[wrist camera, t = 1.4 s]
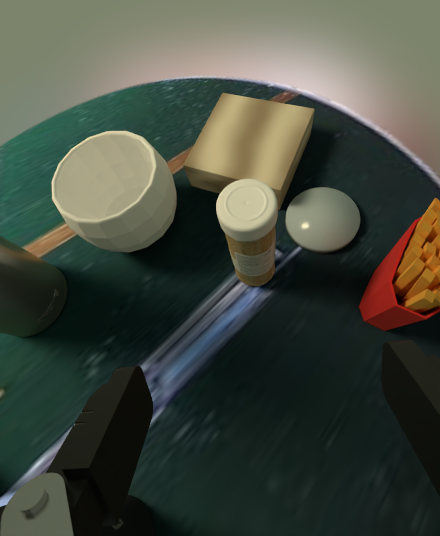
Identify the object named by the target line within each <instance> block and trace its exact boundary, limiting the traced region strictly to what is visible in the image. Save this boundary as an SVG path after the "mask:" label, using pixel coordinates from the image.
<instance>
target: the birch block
mask: <svg viewBox="0 0 440 536" xmlns="http://www.w3.org/2000/svg"><path fill="white" fill-rule="evenodd" d="M313 115H314V109H312V108H306V107H300V106H294V105H289V104H283V103H277V102H272V101H266V100H260V99H254V98H249V97H243V96H237V95H232V94H226V93H222V95H221V97H220V99H219V101H218V102H217V104H216V106H215V108H214V110H213V112H212V113H211V115H210V117H209V119H208V121H207V123H206V124H205V126H204V128H203V130H202V132H201V134H200V135H199V137H198V139H197V141H196V143H195V145H194V146H193V148H192V150H191V152H190V154H189V156H188V157H187V159H186V161H185V163H184V165H183V166H184V169H185V171H186V174H187V176H188V179H189V181H190V184H191V186H194V187H197V188H201V189H205V190H208V191H212V192H215V193H219V194H220V193H221V192H222V191H223V189H224V188H225V187H227V186H228V185H229V184H231V183H233V182H235V181H238V180H241V179H256V180H259V181H262V182H264V183H266V184H267V185H268V186H269V187H271V189H272V190H273V191H274V193H275V195H276V198H277V206H278V210H280V207H281V205H282V203H283V200H284V198H285V195H286V193H287V191H288V188H289V186H290V183H291V181H292V178H293V176H294V174H295V171H296V169H297V166H298V164H299V161H300V159H301V157H302V154H303V152H304V149H305V147H306V144H307V142H308V140H309V137H310V135H311V128H312V122H313Z"/></svg>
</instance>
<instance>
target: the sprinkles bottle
mask: <svg viewBox="0 0 440 536" xmlns="http://www.w3.org/2000/svg"><path fill="white" fill-rule="evenodd" d="M216 212H217V216H218V220H219V223H220V226H221V228H222V229H223V231H224V232H225V235H226V239H227V242H228V246H229V251H230V254H231V258H232V261H233V264H234V266H235V272H236V275H237V277H238V278H239V279H240V280H241V281H242V282H243V283H245V284H247V285H249V286H261V285H263V284H266V283H267V282H268V281H269V280H270V279H271V278H272V276H273V275H274V272H275V262H274V260H275V236H276V235H275V223H276V221H277V214H278V206H277V198H276V195H275V193H274V191H273V190H272V189H271V187H269V186H268V185H267V184H266V183H264V182H262V181H259V180H256V179H241V180H238V181H235V182H233V183H231V184H229V185H228V186H227V187H225V188H224V189H223V191H222V192H221V193H220V195H219V197H218V199H217V203H216Z"/></svg>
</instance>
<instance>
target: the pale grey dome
mask: <svg viewBox="0 0 440 536" xmlns="http://www.w3.org/2000/svg"><path fill="white" fill-rule="evenodd" d="M359 225H360V213H359V210H358V208H357V206H356V204H355V203H354V201H353V200H352V199H351V198H350V197H349V196H347V195H346V194H344V193H343V192H341V191H338V190H335V189H332V188H325V187H320V188H313V189H309V190H306V191H304V192H302V193H300V194H299V195H297V196H296V197H295V198H294V199H293V200H292V201H291V203H290V204H289V207H288V209H287V212H286V229H287V232H288V234H289V236H290V238H291V239H292V240H293V241H294V242H295V243H296V244H297V245H298V246H300V247H301V248H303V249H305V250H307V251H310V252H314V253H331V252H335V251H338V250H340V249H342V248H344V247H345V246H347V245H348V244H349V243H350V242H351V241H352V240H353V238H354V236H355V235H356V233H357V231H358V229H359Z"/></svg>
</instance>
